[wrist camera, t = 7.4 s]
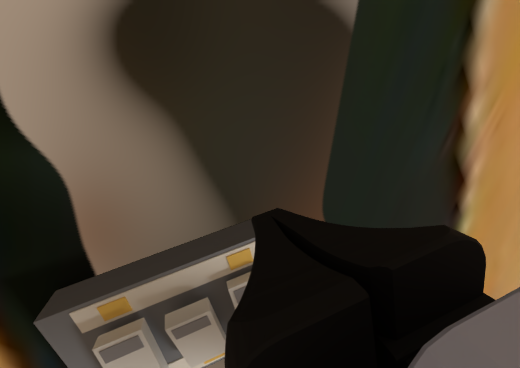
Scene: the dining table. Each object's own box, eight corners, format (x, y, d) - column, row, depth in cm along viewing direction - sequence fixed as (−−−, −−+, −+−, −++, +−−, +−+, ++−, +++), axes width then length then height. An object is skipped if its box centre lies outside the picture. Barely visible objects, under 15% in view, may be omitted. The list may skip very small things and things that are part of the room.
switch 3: (281, 322, 20) (286, 332, 19) (246, 338, 19) (249, 350, 18) (263, 266, 19) (267, 273, 18) (226, 281, 18) (228, 290, 17)
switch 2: (226, 336, 20) (229, 351, 19) (189, 353, 19) (191, 369, 18) (207, 297, 17) (210, 311, 16) (164, 314, 17) (164, 331, 16)
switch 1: (170, 370, 19) (169, 386, 17) (129, 389, 18) (125, 407, 17) (143, 317, 17) (140, 330, 16) (98, 336, 17) (91, 351, 15)
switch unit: (297, 294, 25) (312, 318, 22) (115, 376, 22) (104, 417, 19) (277, 209, 22) (291, 224, 19) (55, 290, 18) (31, 325, 15)
